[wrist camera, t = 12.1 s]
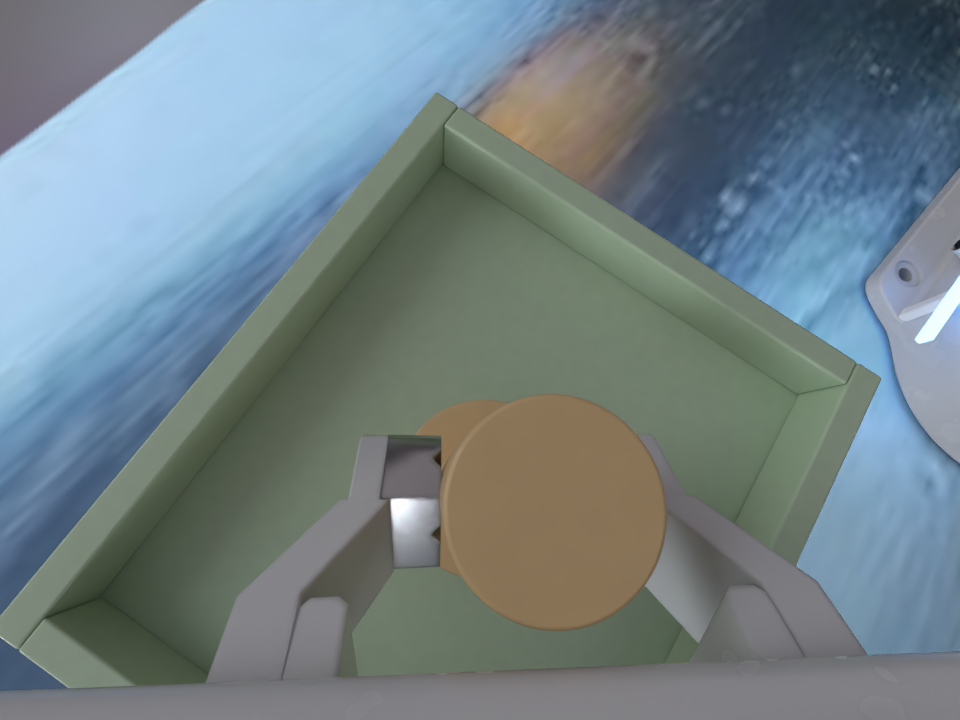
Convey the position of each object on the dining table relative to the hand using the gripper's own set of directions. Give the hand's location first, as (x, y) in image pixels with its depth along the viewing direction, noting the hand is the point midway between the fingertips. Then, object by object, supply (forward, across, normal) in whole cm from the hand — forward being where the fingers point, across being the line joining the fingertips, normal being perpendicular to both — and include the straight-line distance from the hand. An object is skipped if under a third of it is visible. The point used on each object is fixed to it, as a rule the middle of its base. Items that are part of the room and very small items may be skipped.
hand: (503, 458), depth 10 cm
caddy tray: (+4, 0, +4) cm, 6 cm away
